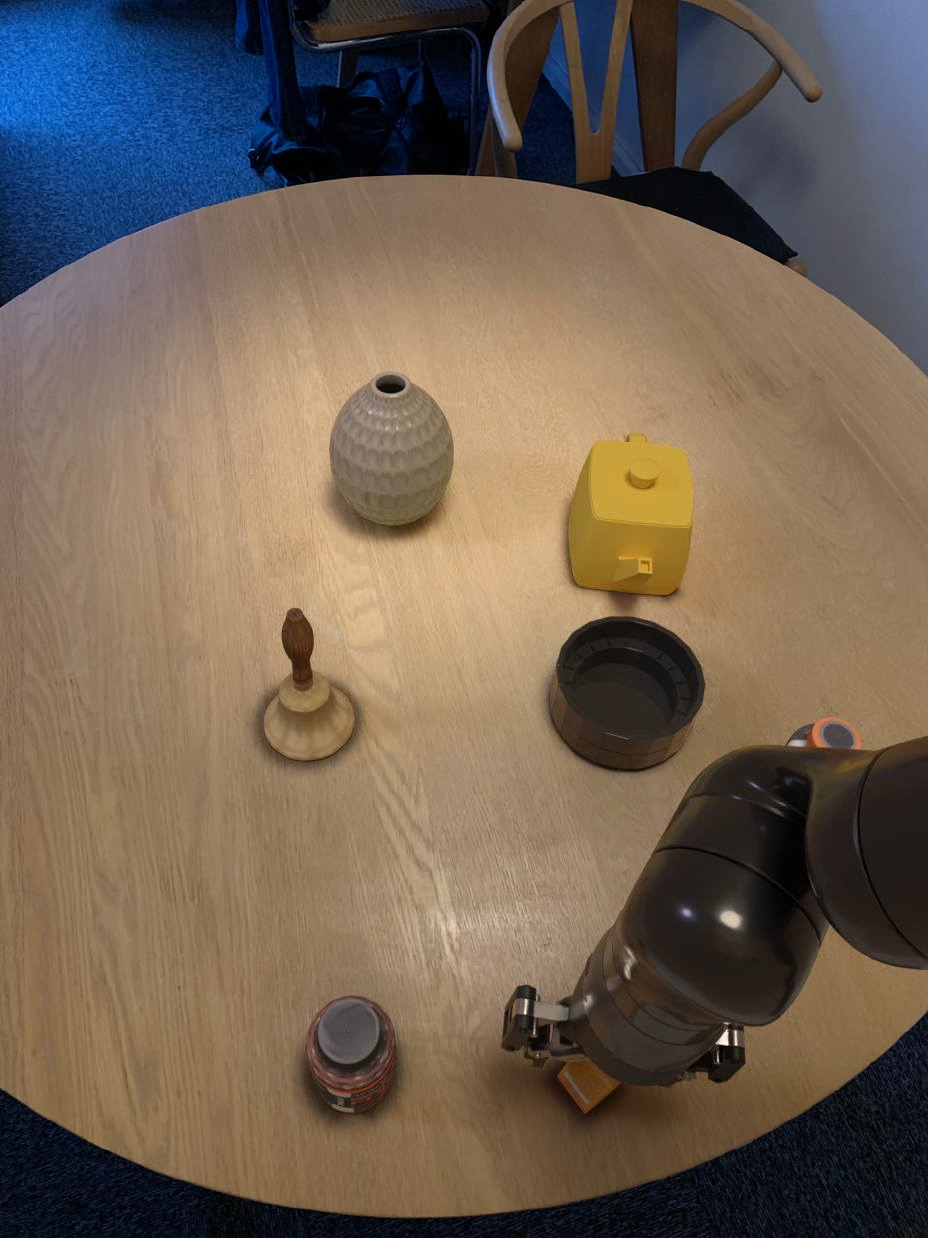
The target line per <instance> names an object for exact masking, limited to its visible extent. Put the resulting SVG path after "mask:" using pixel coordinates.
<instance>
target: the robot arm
mask: <svg viewBox="0 0 928 1238" xmlns="http://www.w3.org/2000/svg"><path fill="white" fill-rule="evenodd" d="M830 927H832V929H833V930H834V932H836V933H837V934H838V935H839V937H841V938H842V939H843V940H844V942H846V943H847V944H848V945H849V946H850V947H852V948H853V949H854V950H856V951H857V952H859V953H860V954H861V955H864V956H866V957H867V958H869V959H870V960H873V961H875V962H879V963H880V964H883V965H887V966H891V967H895V968H901V969H909V970H915V971H916V970H917V971H928V735H925V736H921V737H917V738H914V739H910V740H907V741H903V742H899V743H896V744H892V745H888V746H886V747H882V748H880V749H876V750H872V749H871V750H870V749H861V750H858V749H846V748H831V747H799V746H785V745H780V744H753V745H747V746H743V747H740V748H736V749H734V750H732V751H730V752H728V753H725V754H724V755H723V756H721V757H718V758H717V759H716V760H713V762H711V763H710V764H709V765H708V766H706V767H705V768H704V769H702V770H701V772H700V773H698V775H697V776H696V777H695V778H694V779H693V781H691V784H690V785H689V787H688V788H687V790H686V792H685V793H684V795H683V797H682V799H681V801H680V802H679V804H678V806H677V808H676V810H675V811H674V813H673V815H672V817H671V818H670V820H669V822H668V824H667V825H666V828H665V829H664V831H663V833H662V835H661V837H660V838H659V840H658V842H657V844H656V845H655V848H654V850H653V851H652V853H651V855H650V857H649V859H647V862H646V863H645V865H644V867H643V868H642V870H641V873H640V874H639V876H638V877H637V880H636V882H635V883H634V886H633V887H632V889H631V891H630V892H629V895H628V897H627V899H626V901H625V904H624V905H623V907H622V909H621V910H620V912H619V914H618V916H617V917H616V919H615V921H614V923H613V924H612V925H611V926H610V927H609V928H608V929H607V930H606V931H605V932H604V934H603V935H602V936H601V937H600V939H599V941H598V942H597V945H596V946H595V948H594V950H593V951H592V952H590V955H588V957H587V960H586V961H585V965H584V969H583V970H582V973H581V974H580V976H579V978H578V980H577V982H576V984H575V987H574V988H573V992H572V994H571V995H567V996H565V997H563V998H562V999H560V1000H557V1001H555V1002H554V1003H551V1002H545V1001H541V998H542V996H541V994H538V993H537V992H538V991H537V988H536V987H534V986H532V985H529V984H521V985H518V986H516V987H515V989H514V991H513V993H512V995H511V996H510V998H509V1000H508V1001H507V1002H506V1005H505V1007H504V1014H503V1024H502V1032H501V1033H502V1034H501V1045H500V1048H501V1049H503V1050H505V1051H506V1052H509V1053H515V1052H519V1051H521V1049H523V1058H524V1059H525V1060H528V1061H529V1060H530V1061H531V1067H532V1068H536V1069H543V1068H544V1067H545V1064H546V1063H547V1062H548V1060H549V1058H550V1057H552V1058H553V1059H555V1060H558V1061H561V1062H563V1063H564V1062H565V1063H566V1064H567V1063H573V1062H582V1061H590V1060H591V1061H592V1062H593V1063H594V1064H595V1065H596V1066H597V1067H598V1068H599V1069H600V1070H601V1071H602V1072H604V1073H605V1074H607V1075H608V1076H610V1077H611V1078H613V1079H615V1080H617V1081H619V1082H622V1083H621V1084H626V1085H628V1086H633V1087H640V1088H641V1087H642V1088H650V1087H651V1088H652V1087H657V1086H658V1087H661V1088H668V1089H670V1088H671V1087H672V1086H674V1085H675V1084H676V1083H680V1082H683V1081H685V1082H692V1081H694V1080H697V1078H698V1077H697V1073H704V1074H705V1073H707V1080H708V1081H712V1082H713V1083H715V1084H722V1083H726V1082H729V1080H731V1078H733V1077H734V1075H736V1073H738V1072H739V1071H740V1070H741V1069H742V1067H744V1066H745V1065H746V1063H747V1062H746V1039H745V1037H746V1036H745V1027H748V1028H760V1027H766V1026H769V1025H770V1024H772V1023H774V1022H776V1021H778V1020H779V1019H780V1018H781V1017H782V1016H783V1015H784V1014H785V1013H786V1012H787V1010H788V1009H790V1007H791V1006H792V1004H793V1003H794V1002H795V1001H796V999H797V998H798V996H799V995H800V993H801V991H802V990H803V988H804V986H805V985H806V982H807V981H808V979H809V976H810V974H811V971H812V970H813V967H814V964H815V962H816V959H817V957H818V955H819V951H820V949H821V947H822V945H823V942H824V940H825V937H826V935H827V932H828V930H829V928H830ZM551 1026H552V1028H551ZM574 1044H575V1045H577V1046H574Z"/></svg>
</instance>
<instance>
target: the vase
mask: <svg viewBox="0 0 928 1238" xmlns="http://www.w3.org/2000/svg"><path fill="white" fill-rule="evenodd" d="M334 419H335V420H334V422H333V424H332V425H333V426H332V427H331V432H330V437H329V446H328V454H329V465H330V471H331V475H332V478H333V481H334V483H335V485H336V487H337V490H338V492H339V493H340V495H341V497H342V498H343V499H344V501H346V503H347V504H348V505H349V506H350V507H351V508H352V509H353V510H354V511H355V512H356V513H358V514H359V515H360V516H361V517H363V518H364V519H367V520H368V521H369V522H373V523H376V524H379V525H383V526H387V527H397V526H403V525H407V524H410V523H413V522H415V521H417V520H419V519H421V518H423V517H424V516H425V515H426V514H427V513H428V512H430V511H431V510H432V509H433V508H434V507H435V506H436V505H437V503H438V502H439V501H440V499H441V498H442V497H443V495H444V494H445V492H446V490H447V488H448V485H449V483H450V481H451V477H452V473H453V468H454V461H455V460H454V458H455V457H454V456H455V446H454V438H453V437H454V436H453V434H452V430H451V427H450V424H449V422H448V419H447V417H446V415H445V413H444V411H443V409H442V408H441V407H440V405H439V404H438V402H437V401H436V400H435V398H433V396H431V394H429V393H428V392H427V391H426V390H424V389H423V388H421V386H419V385H418V384H416V383H414V382H412V381H411V379H410V378H409V377H408V376H407V375H406V374H404V373H401V372H398V371H383V372H380V373H377V374H375V376H373V377H372V379H371V380H370V381H369V382H367V383H366V384H364V385H362V386H361V387H359V388H358V389H356V391H354V392H353V393H352V394H351V395H350V397H348V398H347V399H346V400H345V402H344V404H343V405H342V407H341V409H340V410H339V411H338V413H337V416H336V417H335V418H334Z"/></svg>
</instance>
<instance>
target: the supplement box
mask: <svg viewBox="0 0 928 1238" xmlns="http://www.w3.org/2000/svg"><path fill="white" fill-rule="evenodd" d="M557 1080H559V1082H560V1083H561V1085H562V1086H563V1087H564V1089H565V1090H566V1091H567V1093H568V1094H569V1095H570V1096H571V1097H572V1099H573V1100H574V1101H575V1103H576V1105H577V1106H578V1107H579V1108H580V1109H581V1111H582V1112H583V1114H588V1112H590V1111H592V1109H594V1107H596V1106H597V1105H598V1104H599V1103H601V1102H602V1101H603V1100H604V1099H605V1098H607V1096H609V1095H610V1094H611V1093H612V1092H613V1091H614V1090H615V1089H616V1088H618V1086H619V1085H620V1084H623V1083H622V1082H619V1081H617V1080H615V1079H613V1078H611V1077H610V1076H608V1075H607V1074H605V1073H604V1072H602V1071H601V1070H600V1069H599V1068H598V1067H597V1066H596V1065H595V1064H594V1063H593V1062H592V1061H591V1060H590V1061H582V1062H573V1063H567V1062H566V1064H565V1065H564V1066H563V1067H562V1069H561V1070H560V1071H559V1073H558V1074H557Z"/></svg>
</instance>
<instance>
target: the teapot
mask: <svg viewBox="0 0 928 1238" xmlns="http://www.w3.org/2000/svg"><path fill="white" fill-rule="evenodd" d="M693 490H694V487H693V481H692V474H691V467H690V463H689V459H688V455H687V453H686V451H685V450H684V449H683V448H681V447H677V446H672V445H663V444H654V443H648V437H647V436H646V435H645V434H644V433H641V432H630V433H629V434H627V436H626V439H625V441H622V440H605V439H598V440H596V441H594V443H592V446H591V448H590V450H589V452H588V455H587V457H586V459H585V461H584V464H583V466H582V467H581V470H580V473H579V476H578V479H577V482H576V486H575V489H574V493H573V498H572V500H571V505H570V511H569V518H568V549H569V558H570V564H571V571H572V576H573V579H574V582H575V583H576V585H578V587H583V588H587V589H591V590H592V589H593V590H600V591H608V592H610V591H611V592H618V593H627V594H639V595H651V596H652V595H653V596H667V595H668V596H670V595H671V594H673V592H674V591H675V590H676V589H677V588H678V587H679V585H680V584H681V582H682V580H683V578H684V574H685V571H686V567H687V564H688V560H689V555H690V549H691V541H692V533H693V521H694V491H693Z"/></svg>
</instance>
